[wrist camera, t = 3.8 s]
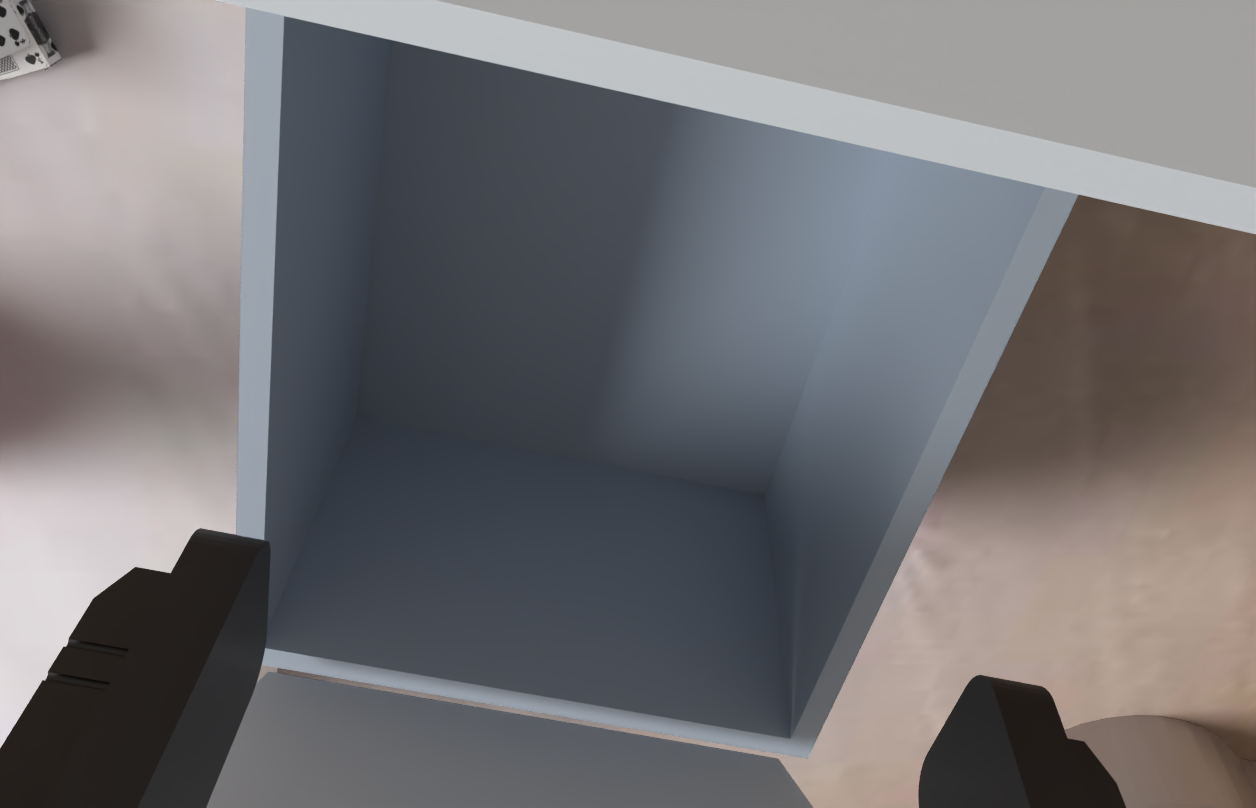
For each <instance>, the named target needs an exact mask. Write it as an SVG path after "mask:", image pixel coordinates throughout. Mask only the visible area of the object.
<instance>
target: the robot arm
mask: <svg viewBox="0 0 1256 808" xmlns="http://www.w3.org/2000/svg"><path fill="white" fill-rule="evenodd" d="M270 558H271V549H270V543H269V541H266V540H261V539H255V538H250V537H245V536H239V535H234V534H228V533H223V532H218V531H212V530H207V529H201V528H200V529H198V530H196V531H195V532H194V534H193V535H192V536H191V538H190V540H189V541H188V543H187V545H186V547H185V549H184V550H183V552H182V554H181V556H180V558H179V559H178V561H177V563H176V565H175V567H174V568H173V570H172V572H171V573H166V572H160V571H155V570H149V569H143V568H138V567H135V568H134V569H132V570H131V571H130V572H128V573H127V574H126V575H124V576H123V577H122V578H120V579H119V580H118V581H116V582H115V583H114V584H112V585H111V586H109V587H108V588H107V589H105V590H104V591H103V592H101V593H100V594H99V595H97V596H96V597H95V598H94V599H93V600H92V602H91V603H90V605H89V607H88V608H87V610H86V611H85V613H84V615H83V616H82V618H81V620H80V621H79V623H78V624H77V626H76V628H75V629H74V631H73V632H72V634H71V636H70V637H69V641H68V644H67V646H66V647H63V649H62V650H61V652H60V653H59V655H58V657H57V658H56V660H55V661H54V663H53V665H52V666H51V668H50V669H49V671H48V676H47V679H46V680H45V681H44V680H43V681H42V682H41V684H40V686H39V687H38V689H37V690H36V692H35V694H34V695H33V697H32V698H31V700H30V702H29V703H28V705H27V707H26V708H25V710H24V711H23V713H22V715H21V716H20V718H19V719H18V721H17V723H16V724H15V726H14V727H13V729H12V731H11V732H10V734H9V735H8V737H7V739H6V740H5V742H4V744H3V745H2V747H1V748H0V808H206V807H207V805H208V802H209V800H210V797H211V795H212V792H213V790H214V788H215V785H216V783H217V780H218V778H219V775H220V773H221V770H222V768H223V766H224V763H225V761H226V758H227V756H228V753H229V751H230V748H231V746H232V744H233V741H234V739H235V736H236V734H237V731H238V729H239V727H240V724H241V722H242V719H243V717H244V714H245V712H246V709H247V707H248V705H249V702H250V700H251V697H252V695H253V692H254V689H255V686H256V683H257V680H258V677H259V673H260V670H261V666H262V662H263V657H264V652H265V646H266V639H267V621H268V600H269V579H270ZM919 808H1256V762H1253V761H1247V760H1244V759H1241V758H1239V757H1238V756H1237V755H1235V754H1234V753H1233V751H1232V750H1231V749H1230V748H1229V747H1228V745H1227V744H1226V743H1225V742H1224V741H1223V740H1222V739H1221V738H1219V737H1218V736H1216V735H1215V734H1213V733H1212V732H1210V731H1209V730H1207V729H1205V728H1203V727H1200V726H1197V725H1195V724H1192V723H1190V722H1187V721H1183V720H1178V719H1173V718H1168V717H1162V716H1141V715H1132V716H1122V717H1112V718H1105V719H1101V720H1096V721H1092V722H1088V723H1084V724H1080V725H1077V726H1074V727H1072V728H1069V729H1066V730H1064V727H1063V725H1062V722H1061V719H1060V716H1059V714H1058V711H1057V708H1056V705H1055V703H1054V700H1053V698H1052V696H1051V694H1050V693H1049V692H1048V691H1047V690H1046V689H1045V688H1044V687H1042V686H1037V685H1031V684H1026V683H1021V682H1015V681H1010V680H1004V679H999V678H993V677H988V676H983V675H978V676H975V677H974V678H973V679H972V680H971V681H970V682H969V683H968V685H967V686H966V688H965V690H964V691H963V693H962V695H961V696H960V698H959V700H958V702H957V703H956V705H955V707H954V709H953V710H952V712H951V714H950V715H949V717H948V719H947V721H946V722H945V724H944V726H943V728H942V729H941V731H940V733H939V734H938V736H937V738H936V740H935V741H934V743H933V745H932V747H931V748H930V750H929V752H928V754H927V756H926V758H925V760H924V763H923V766H922V770H921V775H920V781H919Z"/></svg>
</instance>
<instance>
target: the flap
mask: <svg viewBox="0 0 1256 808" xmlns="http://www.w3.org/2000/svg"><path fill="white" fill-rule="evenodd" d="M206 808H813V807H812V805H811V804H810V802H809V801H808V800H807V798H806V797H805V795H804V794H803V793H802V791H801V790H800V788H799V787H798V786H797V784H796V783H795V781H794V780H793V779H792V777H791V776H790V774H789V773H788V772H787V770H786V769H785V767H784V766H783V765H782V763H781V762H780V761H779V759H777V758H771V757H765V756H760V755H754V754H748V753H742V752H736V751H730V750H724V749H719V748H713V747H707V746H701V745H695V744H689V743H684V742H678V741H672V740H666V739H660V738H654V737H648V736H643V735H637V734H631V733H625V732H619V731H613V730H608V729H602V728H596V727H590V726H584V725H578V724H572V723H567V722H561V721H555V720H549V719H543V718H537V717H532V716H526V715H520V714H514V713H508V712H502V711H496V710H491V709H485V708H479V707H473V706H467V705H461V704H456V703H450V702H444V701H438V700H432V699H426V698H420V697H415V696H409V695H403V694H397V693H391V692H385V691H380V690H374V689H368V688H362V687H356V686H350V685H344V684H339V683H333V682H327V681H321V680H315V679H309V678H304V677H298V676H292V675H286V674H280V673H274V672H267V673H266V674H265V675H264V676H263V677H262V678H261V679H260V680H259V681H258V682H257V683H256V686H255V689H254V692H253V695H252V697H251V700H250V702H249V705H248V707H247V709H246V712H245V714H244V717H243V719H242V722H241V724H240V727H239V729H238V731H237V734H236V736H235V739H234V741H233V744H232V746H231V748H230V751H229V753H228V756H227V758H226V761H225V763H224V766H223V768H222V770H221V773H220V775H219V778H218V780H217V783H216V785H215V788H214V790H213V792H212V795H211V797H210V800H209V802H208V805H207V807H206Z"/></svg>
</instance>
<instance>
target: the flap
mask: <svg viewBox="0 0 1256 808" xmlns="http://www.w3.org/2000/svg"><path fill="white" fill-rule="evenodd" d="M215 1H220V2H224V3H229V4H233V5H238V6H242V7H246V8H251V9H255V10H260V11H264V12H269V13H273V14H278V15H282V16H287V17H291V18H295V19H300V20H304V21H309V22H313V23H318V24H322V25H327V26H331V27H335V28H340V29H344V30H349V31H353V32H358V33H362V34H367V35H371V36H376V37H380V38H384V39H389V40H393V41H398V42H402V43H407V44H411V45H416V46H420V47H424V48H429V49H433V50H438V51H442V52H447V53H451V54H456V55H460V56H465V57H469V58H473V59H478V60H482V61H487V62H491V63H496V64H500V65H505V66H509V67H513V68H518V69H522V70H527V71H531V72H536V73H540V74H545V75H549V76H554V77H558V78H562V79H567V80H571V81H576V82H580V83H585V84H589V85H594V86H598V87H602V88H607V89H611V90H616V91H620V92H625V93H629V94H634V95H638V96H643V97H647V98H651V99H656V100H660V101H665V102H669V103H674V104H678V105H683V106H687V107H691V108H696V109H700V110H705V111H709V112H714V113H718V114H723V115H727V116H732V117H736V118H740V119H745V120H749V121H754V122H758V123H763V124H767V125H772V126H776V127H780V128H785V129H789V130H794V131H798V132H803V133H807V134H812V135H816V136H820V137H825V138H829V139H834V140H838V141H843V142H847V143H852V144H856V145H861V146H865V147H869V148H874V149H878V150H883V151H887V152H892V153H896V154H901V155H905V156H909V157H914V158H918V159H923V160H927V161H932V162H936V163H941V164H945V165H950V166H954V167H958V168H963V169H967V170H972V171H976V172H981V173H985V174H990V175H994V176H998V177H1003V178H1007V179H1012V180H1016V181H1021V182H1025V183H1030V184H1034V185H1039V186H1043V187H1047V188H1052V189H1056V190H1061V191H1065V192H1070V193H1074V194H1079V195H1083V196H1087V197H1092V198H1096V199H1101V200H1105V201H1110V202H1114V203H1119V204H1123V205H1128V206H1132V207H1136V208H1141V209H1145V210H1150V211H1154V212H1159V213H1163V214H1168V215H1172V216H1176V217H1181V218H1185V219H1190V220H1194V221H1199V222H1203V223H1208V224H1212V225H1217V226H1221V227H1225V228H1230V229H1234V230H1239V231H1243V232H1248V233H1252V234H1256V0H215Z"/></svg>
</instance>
